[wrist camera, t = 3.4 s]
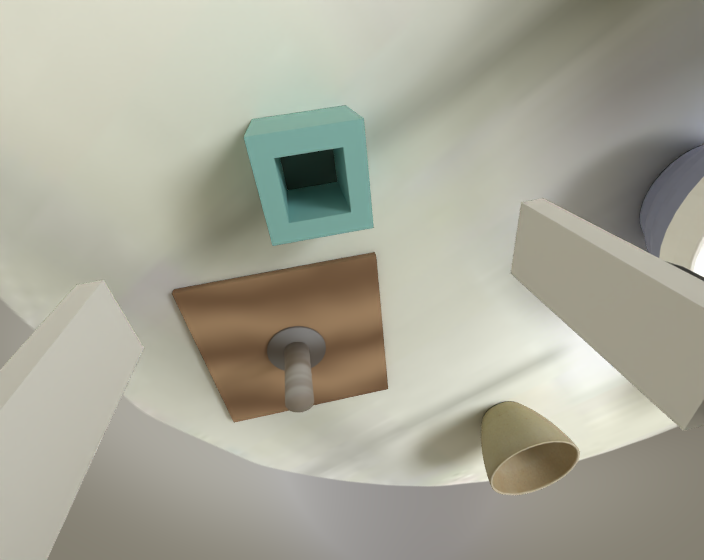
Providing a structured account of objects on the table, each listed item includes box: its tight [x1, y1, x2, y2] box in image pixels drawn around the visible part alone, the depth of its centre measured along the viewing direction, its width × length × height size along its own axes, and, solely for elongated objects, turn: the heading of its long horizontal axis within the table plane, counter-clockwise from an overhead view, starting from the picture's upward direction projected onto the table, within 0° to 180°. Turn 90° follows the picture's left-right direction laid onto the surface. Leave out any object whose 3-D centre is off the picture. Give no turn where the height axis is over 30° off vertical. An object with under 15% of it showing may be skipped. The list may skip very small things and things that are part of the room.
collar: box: [244, 105, 374, 246], centre depth 22 cm, size 6×6×6 cm
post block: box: [172, 252, 388, 422], centre depth 30 cm, size 16×16×7 cm
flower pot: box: [481, 401, 580, 495], centre depth 41 cm, size 10×10×7 cm
